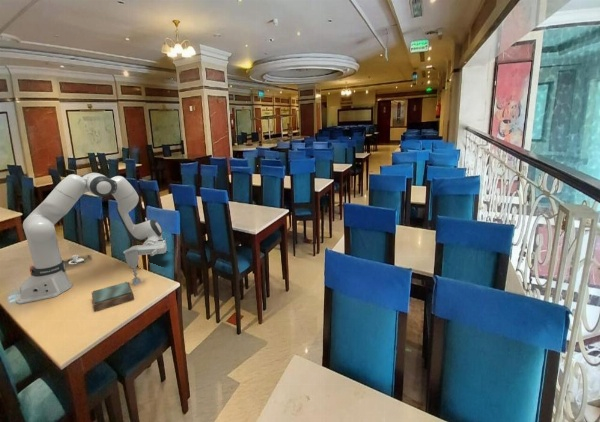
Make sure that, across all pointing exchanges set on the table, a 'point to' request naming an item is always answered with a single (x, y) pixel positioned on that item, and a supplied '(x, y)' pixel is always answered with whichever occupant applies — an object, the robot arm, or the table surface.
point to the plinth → (112, 296)
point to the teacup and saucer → (75, 259)
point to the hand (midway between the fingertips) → (142, 255)
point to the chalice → (133, 263)
